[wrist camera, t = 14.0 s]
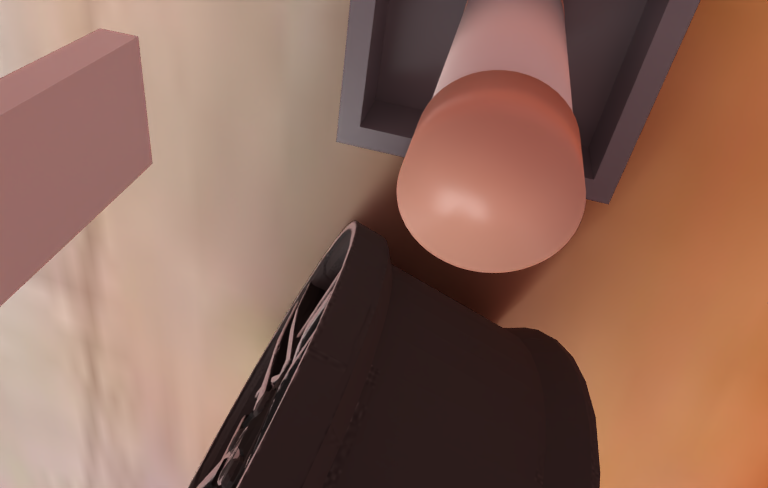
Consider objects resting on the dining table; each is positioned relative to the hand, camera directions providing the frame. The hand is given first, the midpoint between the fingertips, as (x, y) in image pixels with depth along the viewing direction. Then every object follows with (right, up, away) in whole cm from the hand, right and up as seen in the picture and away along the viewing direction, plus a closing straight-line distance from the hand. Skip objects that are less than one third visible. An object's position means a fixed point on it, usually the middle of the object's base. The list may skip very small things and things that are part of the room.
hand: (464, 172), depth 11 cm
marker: (+3, +7, +9) cm, 11 cm away
